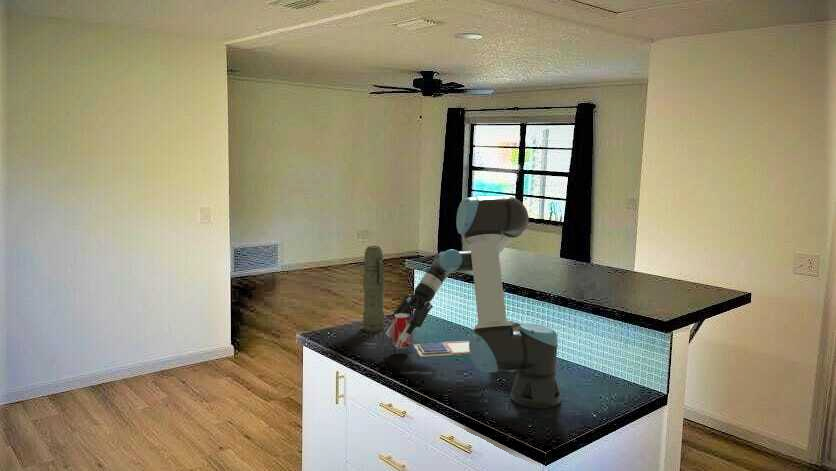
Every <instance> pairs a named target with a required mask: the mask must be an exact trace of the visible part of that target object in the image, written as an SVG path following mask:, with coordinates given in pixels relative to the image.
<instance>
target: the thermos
mask: <svg viewBox="0 0 836 471" xmlns="http://www.w3.org/2000/svg"><path fill="white" fill-rule="evenodd" d="M383 259H384V254H383V251H382V247H380V246H378V245H377V246H376V245H370V246H367V247H366V248H365V252H364V259H363V260H364V271H363V276H362V287H363V288H362V289H363V291H364V292H363V293H364V294H363V295H364V296H363V297H364V298H363V299H364V300H363V302H364V308H363V309H364V310H363V312H362V314H363V315H362V323H363V330H364V331H366V332H372V333H376V332H377V333H378V332H381V331H384V330H385V311H384V289H385V273H384V260H383Z"/></svg>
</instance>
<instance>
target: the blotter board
mask: <svg viewBox="0 0 836 471" xmlns="http://www.w3.org/2000/svg"><path fill="white" fill-rule="evenodd" d="M418 344H419V343H416V344H415V343H413V344H412V345H413V347H414V349H415V350H416V352H417V354H418V355H419V356H420V357H421V358H423V357H425V358H426V357H439V356H453V355H458V354H451V352H450V353H440V354H424V355H423V353H422V352H421V350H420V348H419V347H418ZM466 354H467V355H470V353H463V354H462V355H466Z"/></svg>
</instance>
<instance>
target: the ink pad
mask: <svg viewBox="0 0 836 471" xmlns="http://www.w3.org/2000/svg"><path fill="white" fill-rule="evenodd" d="M417 344H418V347H419V348H420V350H421V352H422V353H423V355H424V354H440V353H450V351H449V350H448V348H447V347H446V346H445V344H444V343H443V342H442V341H441V342H425V343H417Z"/></svg>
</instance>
